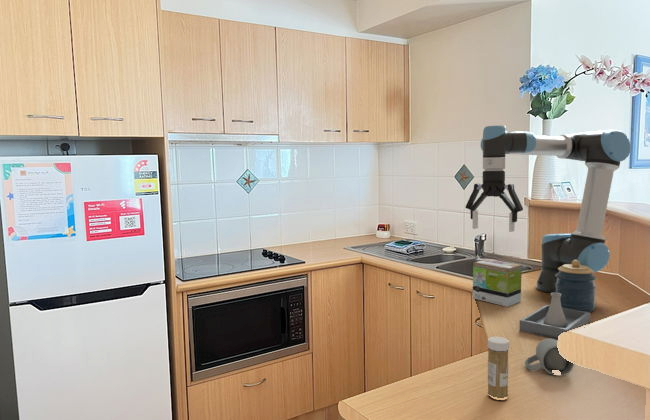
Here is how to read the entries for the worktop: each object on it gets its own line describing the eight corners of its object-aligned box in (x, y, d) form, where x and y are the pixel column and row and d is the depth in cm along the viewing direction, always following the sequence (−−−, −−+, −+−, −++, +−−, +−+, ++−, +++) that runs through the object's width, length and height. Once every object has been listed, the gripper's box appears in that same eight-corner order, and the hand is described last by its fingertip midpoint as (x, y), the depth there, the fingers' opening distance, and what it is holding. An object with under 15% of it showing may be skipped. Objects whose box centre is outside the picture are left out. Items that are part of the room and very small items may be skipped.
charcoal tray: (545, 314, 169) (545, 304, 169) (589, 323, 160) (590, 312, 159) (519, 331, 154) (519, 320, 153) (566, 341, 144) (567, 329, 144)
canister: (553, 302, 184) (554, 255, 183) (592, 305, 180) (593, 257, 178) (555, 311, 172) (557, 262, 171) (597, 315, 168) (599, 264, 166)
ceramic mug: (563, 363, 129) (563, 335, 128) (574, 376, 121) (575, 346, 120) (521, 362, 130) (520, 334, 129) (529, 376, 122) (529, 346, 121)
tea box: (471, 299, 190) (472, 261, 189) (486, 294, 197) (486, 258, 195) (507, 307, 179) (508, 267, 177) (521, 302, 185) (522, 263, 184)
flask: (571, 323, 157) (571, 293, 156) (563, 329, 152) (564, 298, 151) (547, 319, 162) (548, 289, 161) (539, 324, 157) (540, 294, 156)
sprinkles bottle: (510, 402, 108) (511, 343, 107) (488, 401, 109) (489, 342, 108) (505, 392, 113) (506, 336, 112) (485, 391, 114) (486, 335, 112)
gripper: (456, 170, 179) (456, 228, 181) (524, 170, 162) (523, 234, 164) (466, 170, 184) (466, 226, 186) (533, 169, 167) (532, 231, 169)
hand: (493, 229), depth 175 cm, fingers open, 13 cm apart
